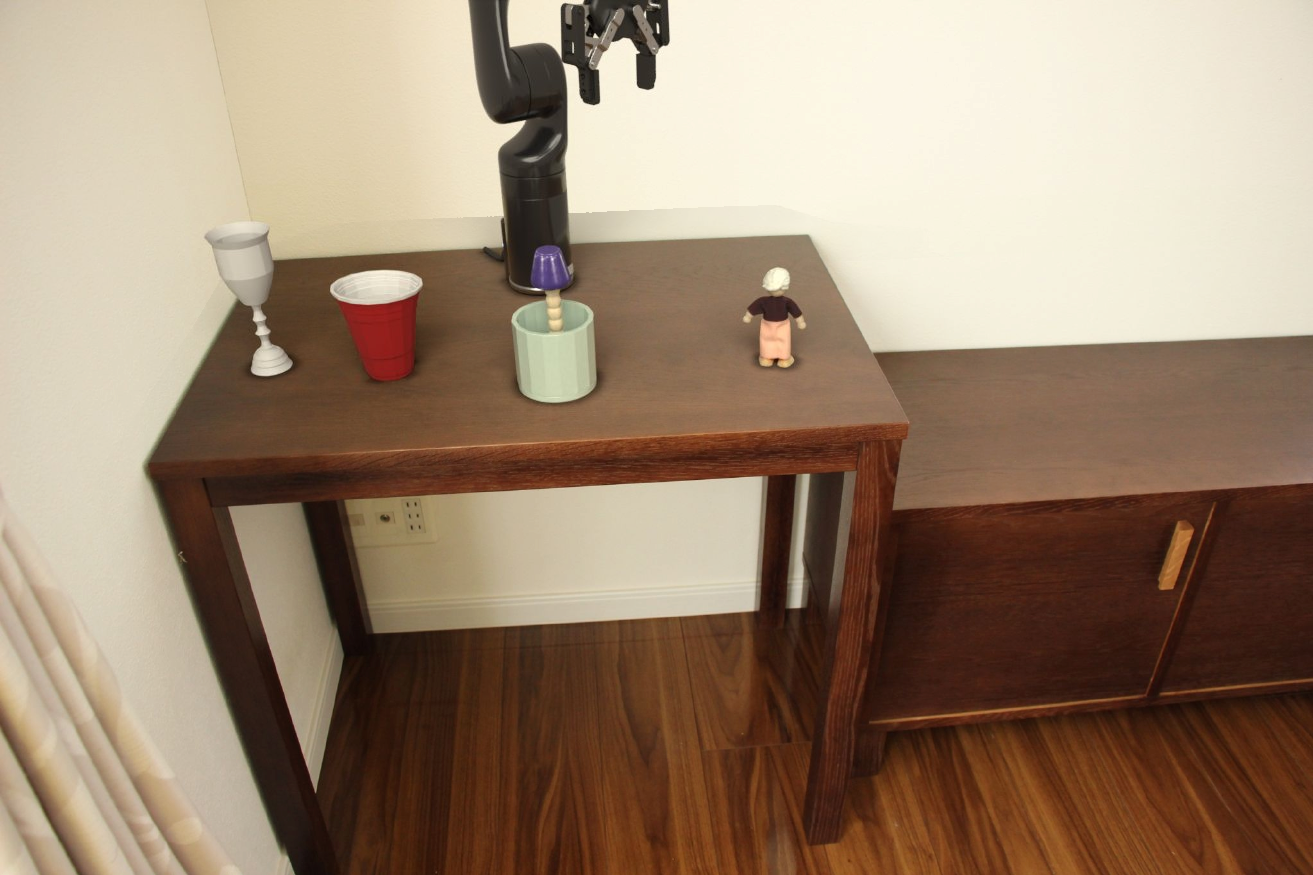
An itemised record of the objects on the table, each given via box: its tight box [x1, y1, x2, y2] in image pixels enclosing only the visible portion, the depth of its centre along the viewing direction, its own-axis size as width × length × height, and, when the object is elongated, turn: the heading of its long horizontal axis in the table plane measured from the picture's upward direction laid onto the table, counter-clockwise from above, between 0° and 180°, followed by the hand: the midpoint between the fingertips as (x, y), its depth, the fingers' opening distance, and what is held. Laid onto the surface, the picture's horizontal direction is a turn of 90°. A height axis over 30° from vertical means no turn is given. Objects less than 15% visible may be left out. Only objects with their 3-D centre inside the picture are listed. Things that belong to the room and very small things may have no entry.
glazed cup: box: [510, 298, 598, 404], centre depth 119 cm, size 10×10×9 cm
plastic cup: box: [329, 269, 423, 382], centre depth 121 cm, size 11×11×12 cm
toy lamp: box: [531, 245, 571, 333], centre depth 116 cm, size 5×5×17 cm
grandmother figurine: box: [742, 266, 807, 368], centre depth 122 cm, size 8×4×13 cm, turn 89°
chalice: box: [203, 220, 294, 377], centre depth 121 cm, size 7×7×18 cm
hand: (618, 96), depth 111 cm, fingers open, 8 cm apart
